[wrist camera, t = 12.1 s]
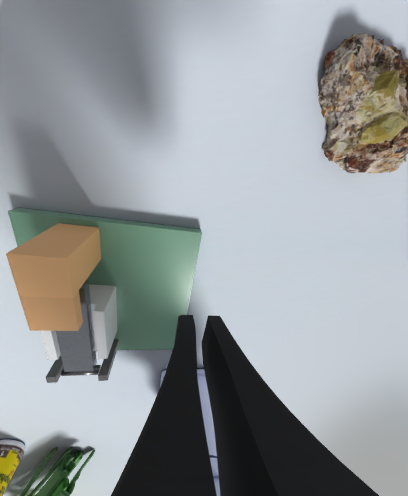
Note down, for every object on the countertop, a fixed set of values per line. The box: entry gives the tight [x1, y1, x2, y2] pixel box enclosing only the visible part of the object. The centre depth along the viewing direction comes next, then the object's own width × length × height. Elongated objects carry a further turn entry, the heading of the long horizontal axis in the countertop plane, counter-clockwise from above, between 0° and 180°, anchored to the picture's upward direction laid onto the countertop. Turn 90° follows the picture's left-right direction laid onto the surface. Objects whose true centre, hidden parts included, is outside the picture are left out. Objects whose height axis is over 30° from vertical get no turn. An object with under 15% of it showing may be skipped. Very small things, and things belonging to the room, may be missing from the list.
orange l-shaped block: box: [6, 223, 101, 331], centre depth 14 cm, size 6×3×5 cm, turn 170°
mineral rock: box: [318, 33, 408, 173], centre depth 15 cm, size 11×4×8 cm
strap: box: [56, 280, 101, 376], centre depth 16 cm, size 11×3×1 cm, turn 170°
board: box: [8, 208, 202, 383], centre depth 18 cm, size 16×15×5 cm
